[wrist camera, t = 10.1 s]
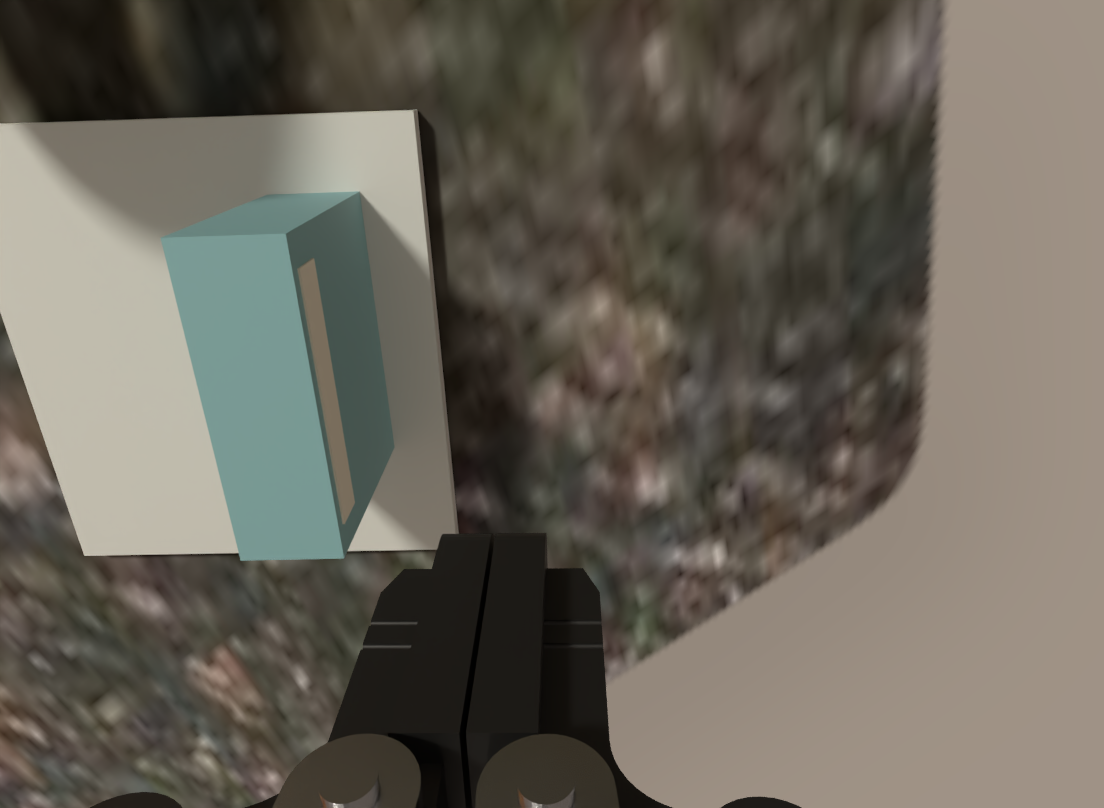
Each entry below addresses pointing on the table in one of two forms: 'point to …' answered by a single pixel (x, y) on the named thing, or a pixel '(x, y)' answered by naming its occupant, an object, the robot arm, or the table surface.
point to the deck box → (287, 367)
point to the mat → (154, 322)
